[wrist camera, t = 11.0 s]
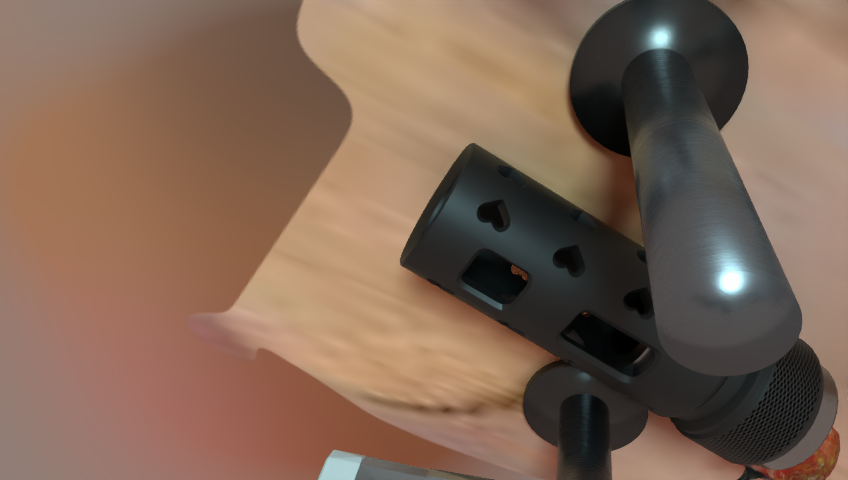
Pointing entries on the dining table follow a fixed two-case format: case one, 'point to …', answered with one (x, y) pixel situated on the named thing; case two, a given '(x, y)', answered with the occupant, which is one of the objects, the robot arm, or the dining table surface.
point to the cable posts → (671, 217)
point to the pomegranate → (803, 464)
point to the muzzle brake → (605, 312)
